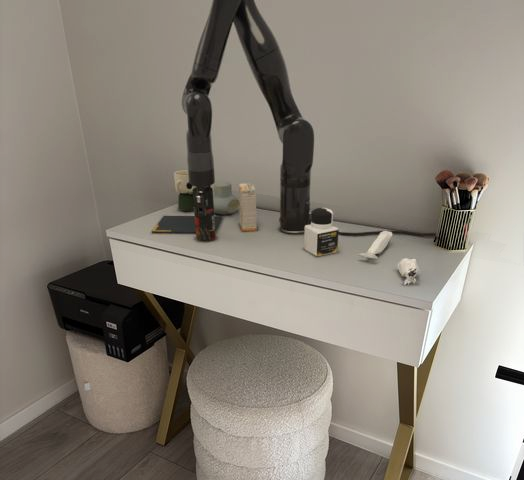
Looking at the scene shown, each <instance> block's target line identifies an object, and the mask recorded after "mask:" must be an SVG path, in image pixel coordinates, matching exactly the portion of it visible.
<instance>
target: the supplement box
mask: <svg viewBox="0 0 524 480" xmlns="http://www.w3.org/2000/svg"><path fill="white" fill-rule="evenodd" d="M238 200H239V207H238V208H239V226H240V227H241V230H242V232H250V231H251V232H253V231H258V230H257V229H258V228H257V225H258V223H257V189H256V186H255V185H254V183H253V182H247V183H244V182H243V183H238Z"/></svg>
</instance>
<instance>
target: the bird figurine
mask: <svg viewBox="0 0 524 480" xmlns="http://www.w3.org/2000/svg"><path fill="white" fill-rule="evenodd" d="M396 269H397V270H398V272H399V274H400V275H401V277H404V278H405V280H404V281H403V285H404V286H406V285H407V286H408V285H410V284H411V283H412V284H413V285H417V284H416V282H417V279H416V278H415V277H416V276H417V275H419V274H420V273H421V272H420V269H419V265H418V263H417V259H416V258H411V259H410V258H409V257H408V258H407V257H405V258H402V259H401V260H400V261H399V262H398V264H397V267H396Z"/></svg>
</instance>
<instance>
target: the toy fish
mask: <svg viewBox="0 0 524 480" xmlns="http://www.w3.org/2000/svg"><path fill="white" fill-rule="evenodd" d="M382 231H383V232H381V233H380V234H377V237H376V238H375V240H374V241H373V242H372V244H371V246H370V247H369V248H368V249H367V251H365V252H361V253H358V255H357V256H360V257H363V258H368V259H378V257H377V255H380V254H381V253H382V252H383V251H384V250H385V248H386V247H387V246H388V244H389V242H390V240H391V238H392V236H393V233H392V232H389V230H382Z"/></svg>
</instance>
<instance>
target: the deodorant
mask: <svg viewBox="0 0 524 480" xmlns="http://www.w3.org/2000/svg"><path fill="white" fill-rule="evenodd" d="M213 189H214V187H212V186H211V187H207V189H206V191H205V200H204V204H205V203H206V200H207V201H208V207H207V208H206V213H207V214H206V220H207V227H206V228H200V227H199V217H198V215H196V208H195V199H194V196H195V195H197V187H196V188H194V189H193V202H194V210H193V213H194V214H193V215H194V216H195V226H196V234H195V237H196V238H195V239H196V240H197V241H198V242H203V243H204V242H205V243H207V242H212V241H215V240H216V239H217V238H216V237H217V236H216V232H215V218H214V216H215V213H214V202H213V196H214V190H213ZM200 211H202V208H200Z"/></svg>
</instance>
